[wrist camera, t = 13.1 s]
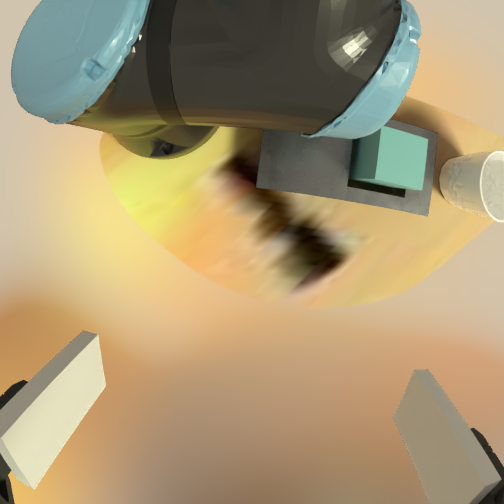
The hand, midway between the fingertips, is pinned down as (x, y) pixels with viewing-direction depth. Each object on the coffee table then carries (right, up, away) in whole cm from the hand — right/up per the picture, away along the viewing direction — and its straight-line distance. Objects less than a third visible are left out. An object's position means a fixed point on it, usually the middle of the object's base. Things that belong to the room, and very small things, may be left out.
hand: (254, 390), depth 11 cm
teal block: (+14, +16, +23) cm, 31 cm away
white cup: (+28, +15, +23) cm, 39 cm away
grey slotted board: (+11, +16, +23) cm, 30 cm away
